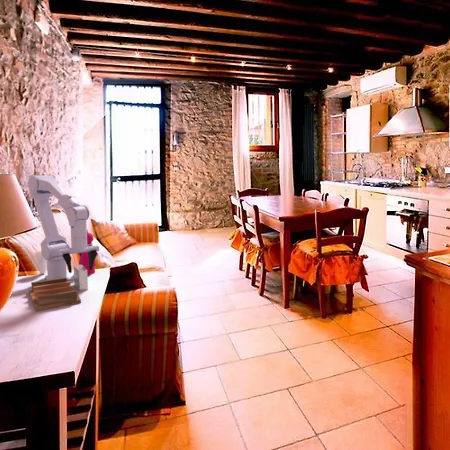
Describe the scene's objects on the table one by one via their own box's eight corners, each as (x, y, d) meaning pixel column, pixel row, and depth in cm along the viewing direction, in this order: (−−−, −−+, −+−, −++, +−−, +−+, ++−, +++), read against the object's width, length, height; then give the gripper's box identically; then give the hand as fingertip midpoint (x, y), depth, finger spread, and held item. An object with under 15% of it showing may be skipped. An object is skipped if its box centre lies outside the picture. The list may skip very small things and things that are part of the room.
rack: (28, 292, 131) (28, 282, 130) (68, 286, 139) (68, 276, 138) (36, 311, 115) (35, 299, 114) (80, 302, 123) (80, 291, 122)
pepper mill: (79, 271, 159) (77, 228, 156) (96, 269, 162) (94, 227, 159) (78, 275, 153) (76, 230, 149) (96, 274, 155) (94, 230, 152)
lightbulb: (32, 274, 153) (30, 250, 151) (44, 271, 158) (43, 247, 156) (40, 276, 150) (39, 251, 148) (53, 273, 155) (52, 249, 153)
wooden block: (74, 284, 142) (73, 265, 140) (82, 283, 143) (81, 264, 142) (79, 291, 134) (79, 271, 133) (88, 289, 136) (87, 269, 135)
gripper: (60, 240, 128) (62, 276, 130) (101, 236, 136) (102, 270, 139) (57, 237, 134) (59, 271, 136) (96, 234, 142) (97, 266, 144)
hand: (80, 270), depth 138 cm, fingers open, 7 cm apart
